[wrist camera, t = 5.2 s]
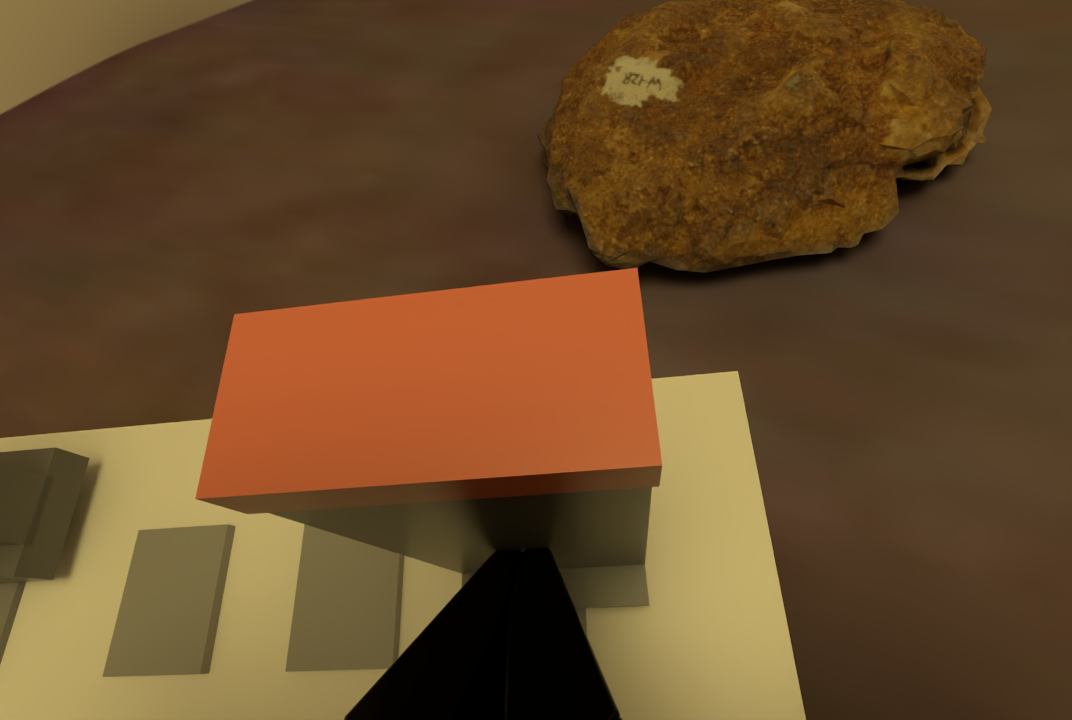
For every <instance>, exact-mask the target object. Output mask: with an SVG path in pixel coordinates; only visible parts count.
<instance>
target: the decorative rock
mask: <svg viewBox="0 0 1072 720" xmlns="http://www.w3.org/2000/svg"><path fill="white" fill-rule="evenodd" d="M986 50H987V49H986V48H985V47H984V46H983V45H981V44H980V43H979V42H978V41H976V40H975V39H974V38H973V37H971V36H969V35H967V34H965V32H964V30H963V29H962V27H961V25H960V24H959V22H958V21H956V20H952V19H948V18H947V17H946V16H945V15H944V14H943V13H941V12H939V11H937V10H935V9H933V8H931V7H926V6H911V5H909V4H907V3H905V2H902V1H899V0H697V1H695V2H682V1H672V2H666V3H663V4H661V5H658V6H656V7H653V8H651V9H649V10H647V11H645V12H642V13H638V14H632V15H627V16H624V17H623V18H622V19H621V20H620V21H618V22H617V23H616V24H615V25H614V26H613V28H612V29H611V30H610V31H609V32H608V33H607V34H606V35H605V36H604V37H603V38H602V39H601V40H600V41H598V42H597V43H596V44H594V45H593V46H592V47H591V48H590V49H589V51H588V52H587V53H586V54H585V55H584V56H583V57H581V58H580V59H579V60H578V61H577V62H575V63H574V64H573V65H572V66H571V67H570V68H569V71H568V73H567V74H566V75H565V77H564V78H563V79H562V80H561V81H560V82H559V85H560V87H561V93H560V96H559V100H558V103H557V105H556V107H555V109H554V111H553V113H552V115H551V117H550V118H549V120H548V121H547V122H546V123H545V124H544V126H543V127H542V128H541V129H540V130H539V132H538V133H537V135H538V139H539V141H540V143H541V145H542V147H543V148H544V149H545V151H546V153H545V157H544V161H543V163H544V165H545V166H546V167H548V168H549V170H548V175H547V184H548V187H549V190H550V193H551V196H552V199H553V203H554V206H555V209H556V210H558V211H560V212H562V213H564V215H565V219H566V223H567V225H568V222H569V220H570V218H571V216H572V214H573V213H575V214H577V215H578V216H579V219H580V221H581V224H582V227H583V230H584V233H585V237H586V240H587V243H588V247H589V249H590V250H591V252H592V253H593V255H594V256H596V257H597V258H598V259H599V260H600V261H601V262H603V263H604V264H605V265H606V266H609V267H615V268H621V269H631V268H637V269H638V267H639V266H641V265H644V264H646V263H648V262H653V263H656V264H659V265H662V266H665V267H668V268H671V269H674V270H683V271H691V272H703V273H707V272H712V271H717V270H722V269H727V268H733V267H738V266H744V265H750V264H754V263H759V262H764V261H768V260H774V259H780V258H786V257H792V256H799V255H810V254H824V253H831V252H833V251H834V250H835V249H836V248H838V247H848V248H851V247H854V246H857V245H858V244H859V242H860V240H861V238H862V236H863V234H864V233H868V232H873V231H877V230H881V229H883V228H884V227H885V226H886V225H887V224H888V223H889V222H890V221H891V220H892V219H893V218H894V217H895V216H896V215H897V214H898V213H899V206H898V194H897V185H896V178H900V179H899V180H915V181H928V180H934V179H935V177H936V176H937V175H938V174H939V173H940V172H941V171H942V170H943V168H944V167H945V166H954V165H963V164H964V162H965V159H966V157H967V155H968V153H969V151H970V150H971V149H972V148H973V147H974V146H975V145H976V144H977V143H988V142H987V140H986V138H985V136H984V135H983V133H982V132H983V130H984V128H985V125H986V123H987V120H988V118H989V116H990V113H991V111H992V109H991V107H990V104H989V102H988V100H987V99H986V98H985V96H984V95H983V93H982V91H981V90H980V88H979V85H980V84H981V81H982V78H983V75H984V73H985V70H984V67H985V59H986Z"/></svg>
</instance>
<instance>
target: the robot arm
mask: <svg viewBox="0 0 1072 720" xmlns="http://www.w3.org/2000/svg"><path fill="white" fill-rule="evenodd" d="M344 720H623V719H622V718H621V717H620V713H619V710H618V708H617V706H616V703H615V701H614V699H613V696H612V694H611V691H610V689H609V687H608V684H607V682H606V680H605V677H604V675H603V672H602V670H601V668H600V665H599V663H598V661H597V658H596V656H595V654H594V651H593V649H592V646H591V644H590V642H589V639H588V637H587V635H586V632H585V630H584V627H583V625H582V623H581V620H580V618H579V616H578V613H577V611H576V609H575V606H574V604H573V601H572V599H571V597H570V594H569V592H568V590H567V587H566V585H565V583H564V580H563V578H562V575H561V573H560V571H559V568H558V566H557V564H556V561H555V559H554V556H553V554H552V552H551V550H550V549H549V548H533V549H525V550H524V551H523V552H522V551H521V550H518V549H514V550H497V551H495V552H494V553H493V554H492V555H491V556H490V557H489V558H488V559H487V560H486V561H485V562H484V563H483V565H482V566H481V567H480V568H479V569H478V570H477V571H476V572H475V573H474V574H473V576H472V577H471V578H470V579H469V580H468V581H467V582H466V583H465V584H464V586H463V587H462V588H461V589H460V590H459V591H458V592H457V593H456V594H455V595H454V597H453V598H452V599H451V600H450V601H449V602H448V603H447V604H446V605H445V606H444V608H443V609H442V610H441V611H440V612H439V613H438V614H437V615H436V616H435V618H434V619H433V620H432V621H431V622H430V623H429V624H428V625H427V626H426V627H425V629H424V630H423V631H422V632H421V633H420V634H419V635H418V636H417V637H416V639H415V640H414V641H413V642H412V643H411V644H410V645H409V646H408V647H407V648H406V650H405V651H404V652H403V653H402V654H401V655H400V656H399V657H398V658H397V660H396V661H395V662H394V663H393V664H392V665H391V666H390V667H389V668H388V669H387V671H386V672H385V673H384V674H383V675H382V676H381V677H380V678H379V679H378V680H377V682H376V683H375V684H374V685H373V686H372V687H371V688H370V689H369V690H368V692H367V693H366V694H365V695H364V696H363V697H362V698H361V699H360V700H359V701H358V703H357V704H356V705H355V706H354V707H353V708H352V709H351V710H350V711H349V713H348V714H347V715H346V716H345V718H344Z"/></svg>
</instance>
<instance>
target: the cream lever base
mask: <svg viewBox="0 0 1072 720" xmlns="http://www.w3.org/2000/svg"><path fill="white" fill-rule="evenodd" d="M651 380H652V388H653V396H654V403H655V411H656V419H657V427H658V435H659V443H660V451H661V459H662V471H661V478H660V485H659V487H652V492H651V504H650V515H649V526H648V537H647V548H646V559H645V569H646V578H647V588H648V597H649V606H636V607H611V608H587V609H576V611H577V613H578V616H579V618H580V620H581V623H582V625H583V627H584V630H585V632H586V635H587V637H588V639H589V642H590V644H591V646H592V649H593V651H594V654H595V656H596V658H597V661H598V663H599V665H600V668H601V670H602V672H603V675H604V677H605V680H606V682H607V684H608V687H609V689H610V691H611V694H612V696H613V699H614V701H615V703H616V706H617V708H618V710H619V713H620V717H621V718H622V719H623V720H806V717H805V712H804V707H803V702H802V697H801V692H800V687H799V682H798V676H797V671H796V666H795V661H794V656H793V651H792V646H791V641H790V635H789V630H788V625H787V620H786V615H785V610H784V605H783V600H782V595H781V589H780V584H779V579H778V574H777V569H776V564H775V559H774V554H773V549H772V543H771V538H770V533H769V528H768V523H767V518H766V513H765V508H764V503H763V497H762V492H761V487H760V482H759V477H758V472H757V467H756V462H755V457H754V451H753V446H752V441H751V436H750V431H749V426H748V421H747V416H746V410H745V405H744V400H743V395H742V390H741V385H740V380H739V375H738V371H733V372H722V373H711V374H700V375H689V376H679V377H668V378H657V379H651ZM211 422H212V419H206V420H195V421H184V422H173V423H162V424H151V425H140V426H129V427H118V428H107V429H96V430H85V431H74V432H63V433H52V434H41V435H30V436H19V437H8V438H0V452H9V451H20V450H32V449H43V448H55V447H56V448H59V449H62V450H65V451H69V452H72V453H75V454H78V455H81V456H85V457H88V458H90V459H89V462H88V466H87V469H86V472H85V476H84V479H83V482H82V486H81V489H80V492H79V496H78V499H77V503H76V506H75V509H74V513H73V516H72V519H71V523H70V526H69V530H68V533H67V536H66V540H65V543H64V546H63V550H62V553H61V557H60V560H59V563H58V567H57V570H56V573H55V577H54V580H45V581H27V582H8V583H0V720H344V718H345V716H346V715H347V714H348V713H349V711H350V710H351V709H352V708H353V707H354V706H355V705H356V704H357V703H358V701H359V700H360V699H361V698H362V697H363V696H364V695H365V694H366V693H367V692H368V690H369V689H370V688H371V687H372V686H373V685H374V684H375V683H376V682H377V680H378V679H379V678H380V677H381V676H382V675H383V674H384V673H385V672H386V671H387V669H388V668H389V667H390V666H391V665H392V664H393V663H394V662H395V661H396V660H397V658H398V657H399V656H400V655H401V654H402V653H403V652H404V651H405V650H406V648H407V647H408V646H409V645H410V644H411V643H412V642H413V641H414V640H415V639H416V637H417V636H418V635H419V634H420V633H421V632H422V631H423V630H424V629H425V627H426V626H427V625H428V624H429V623H430V622H431V621H432V620H433V619H434V618H435V616H436V615H437V614H438V613H439V612H440V611H441V610H442V609H443V608H444V606H445V605H446V604H447V603H448V602H449V601H450V600H451V599H452V598H453V597H454V595H455V594H456V593H457V592H458V591H459V590H460V589H461V588H462V573H458V572H455V571H452V570H449V569H446V568H442V567H439V566H436V565H433V564H430V563H426V562H423V561H420V560H417V559H414V558H410V557H407V556H404V555H401V554H398V553H395V552H391V551H388V550H385V549H382V548H379V547H375V546H372V545H369V544H366V543H363V542H359V541H356V540H353V539H350V538H347V537H343V536H340V535H337V534H334V533H331V532H327V531H324V530H321V529H318V528H315V527H311V526H308V525H305V524H302V523H299V522H295V521H292V520H289V519H286V518H283V517H279V516H276V515H273V514H270V513H260V514H245V513H241V512H238V511H235V510H231V509H228V508H224V507H221V506H218V505H214V504H211V503H207V502H204V501H200V500H197V499H195V498H196V493H197V488H198V484H199V479H200V474H201V470H202V465H203V460H204V455H205V451H206V446H207V441H208V437H209V432H210V427H211Z"/></svg>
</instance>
